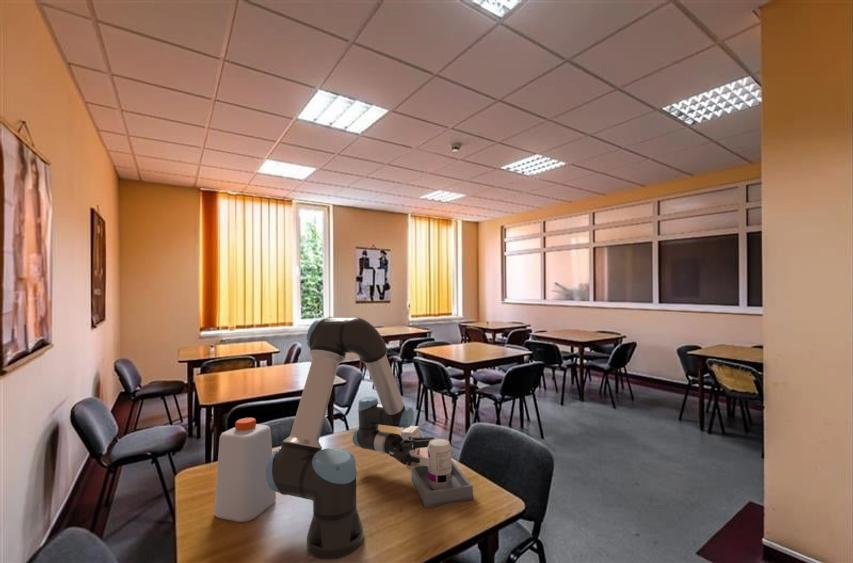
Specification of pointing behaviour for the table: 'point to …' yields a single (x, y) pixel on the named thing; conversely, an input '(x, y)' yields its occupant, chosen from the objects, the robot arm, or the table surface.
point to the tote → (431, 498)
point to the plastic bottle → (243, 472)
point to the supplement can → (439, 464)
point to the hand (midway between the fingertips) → (438, 454)
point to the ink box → (411, 432)
